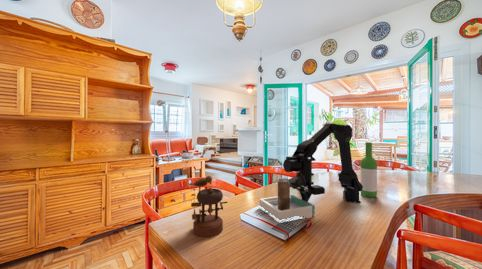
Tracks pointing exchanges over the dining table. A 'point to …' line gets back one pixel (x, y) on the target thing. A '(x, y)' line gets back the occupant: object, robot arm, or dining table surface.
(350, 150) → the robot arm
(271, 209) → the tray sleeve
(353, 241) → the dining table surface
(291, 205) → the grey tray
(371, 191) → the wine bottle
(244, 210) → the dining table surface
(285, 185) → the pepper mill
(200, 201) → the music box
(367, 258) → the dining table surface
